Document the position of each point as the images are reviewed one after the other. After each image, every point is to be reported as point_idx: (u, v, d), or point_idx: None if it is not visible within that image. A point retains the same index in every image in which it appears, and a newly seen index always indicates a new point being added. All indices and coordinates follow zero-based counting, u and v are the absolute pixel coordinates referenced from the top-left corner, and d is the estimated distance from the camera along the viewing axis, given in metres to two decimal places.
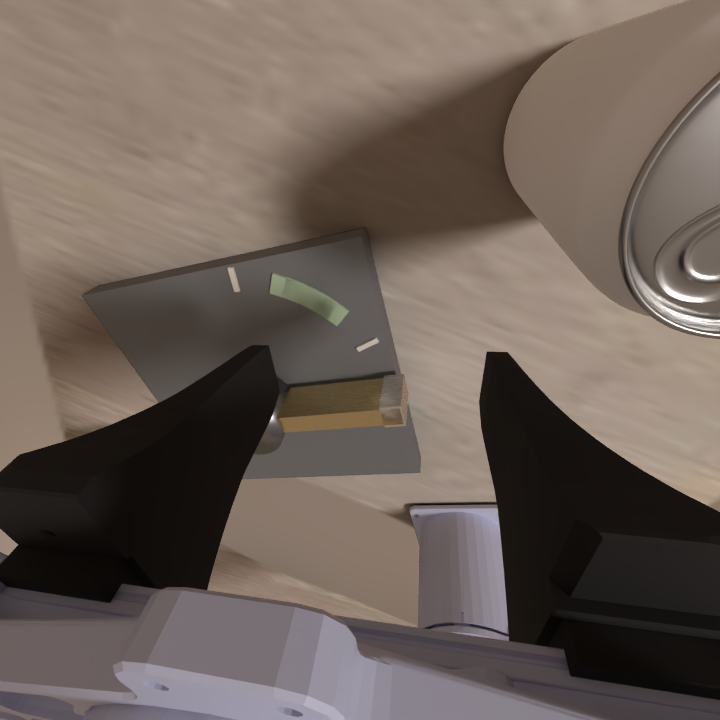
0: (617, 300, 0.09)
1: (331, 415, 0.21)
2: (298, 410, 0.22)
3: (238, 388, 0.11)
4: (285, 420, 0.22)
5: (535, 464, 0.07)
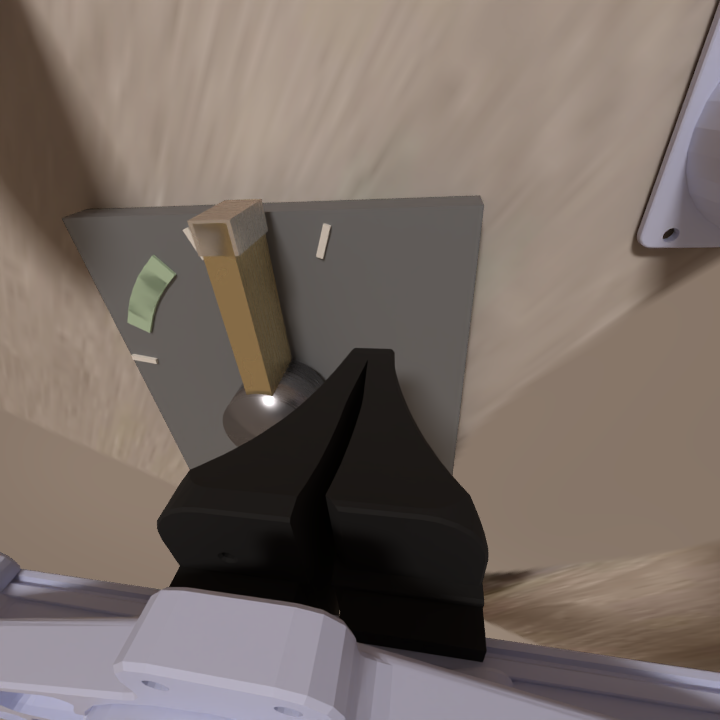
0: None
1: (229, 327, 0.15)
2: None
3: (358, 394, 0.10)
4: (248, 385, 0.16)
5: (349, 451, 0.08)
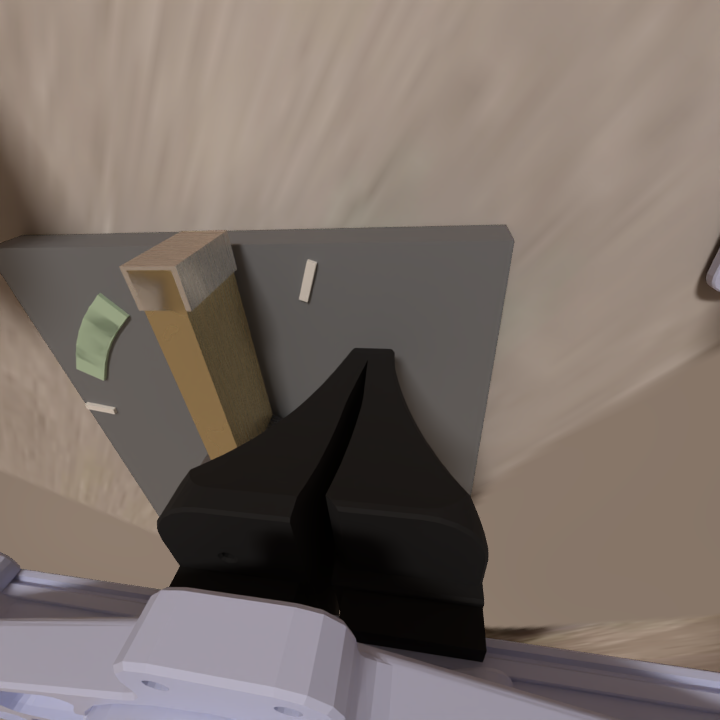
0: None
1: (186, 393, 0.11)
2: None
3: (358, 394, 0.10)
4: None
5: (349, 451, 0.08)
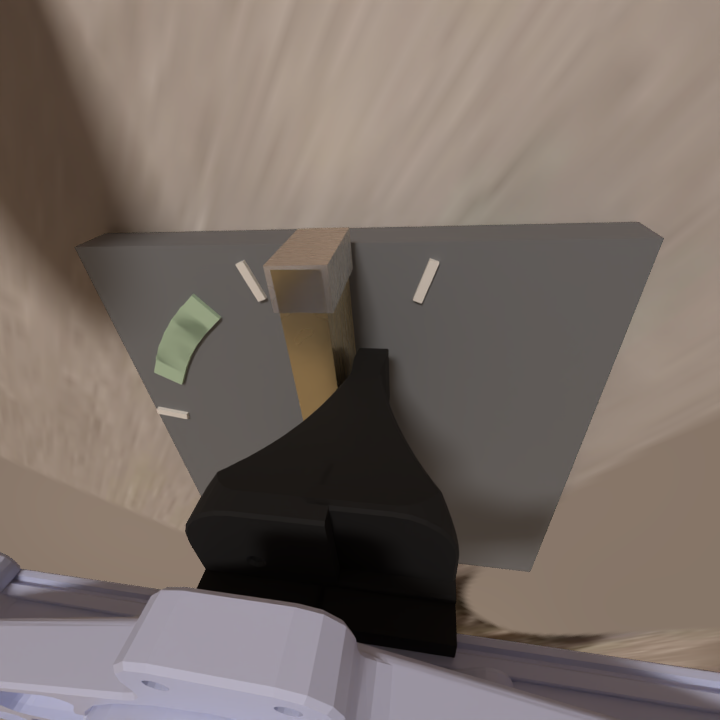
0: None
1: (304, 400, 0.11)
2: None
3: None
4: None
5: (328, 449, 0.08)
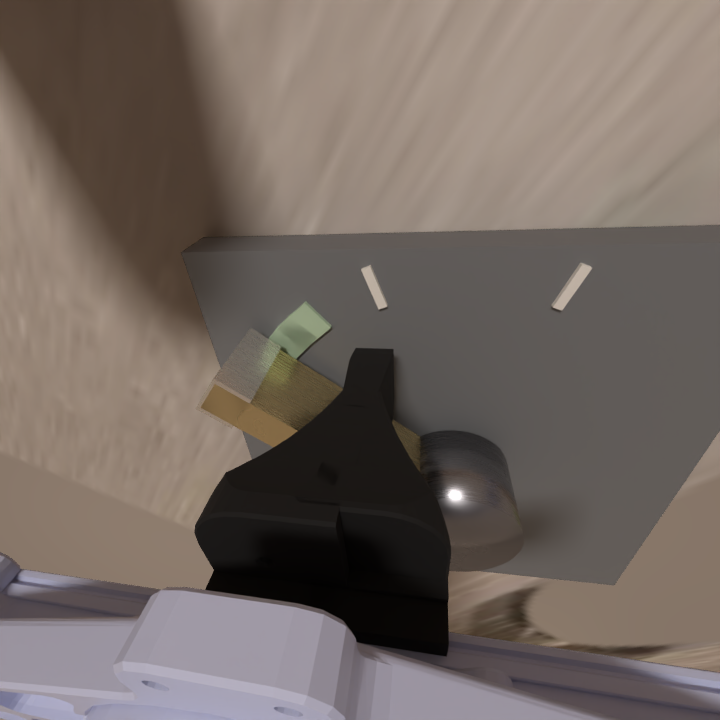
0: None
1: None
2: None
3: (382, 395, 0.10)
4: None
5: (323, 449, 0.08)
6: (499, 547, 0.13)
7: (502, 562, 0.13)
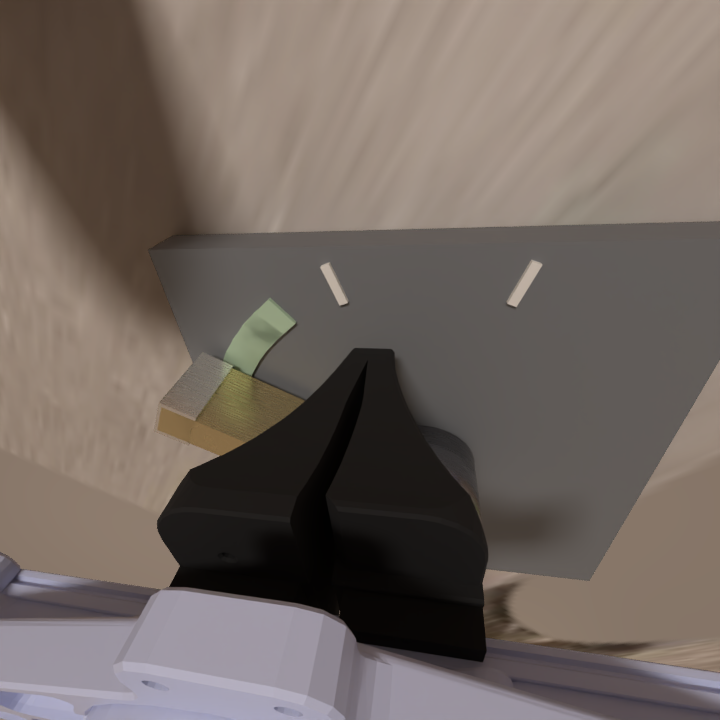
0: None
1: None
2: None
3: (358, 394, 0.10)
4: None
5: (349, 451, 0.08)
6: None
7: None
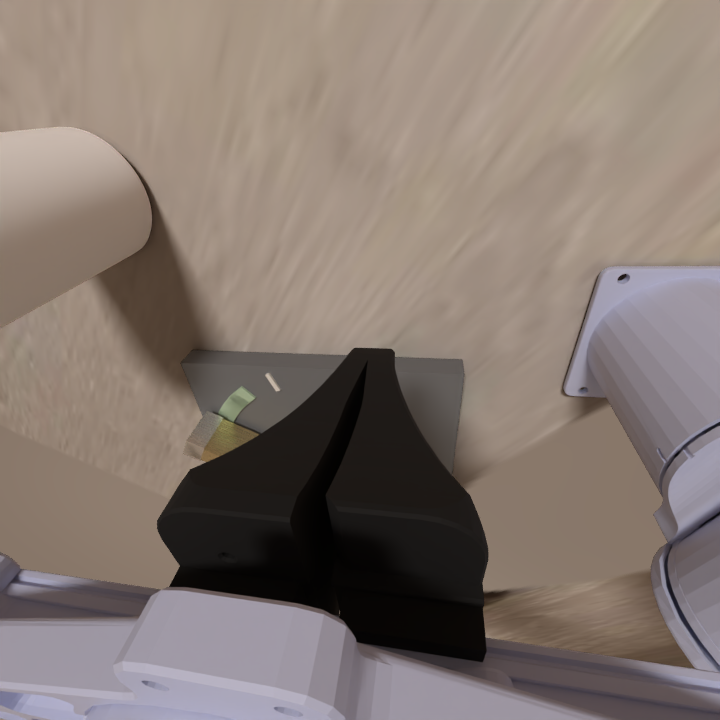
0: None
1: None
2: None
3: (358, 394, 0.10)
4: None
5: (349, 451, 0.08)
6: None
7: None
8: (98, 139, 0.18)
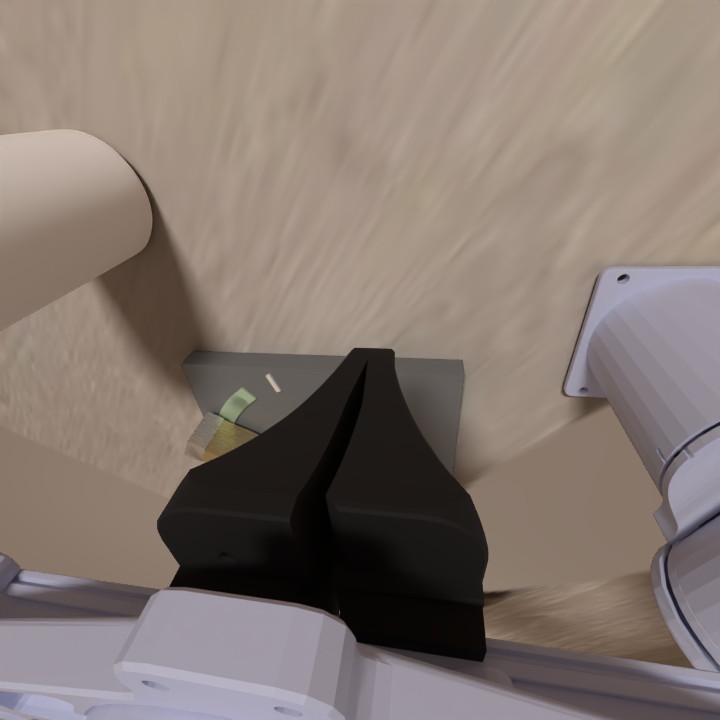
0: None
1: None
2: None
3: (358, 394, 0.10)
4: None
5: (349, 451, 0.07)
6: None
7: None
8: (99, 141, 0.18)
